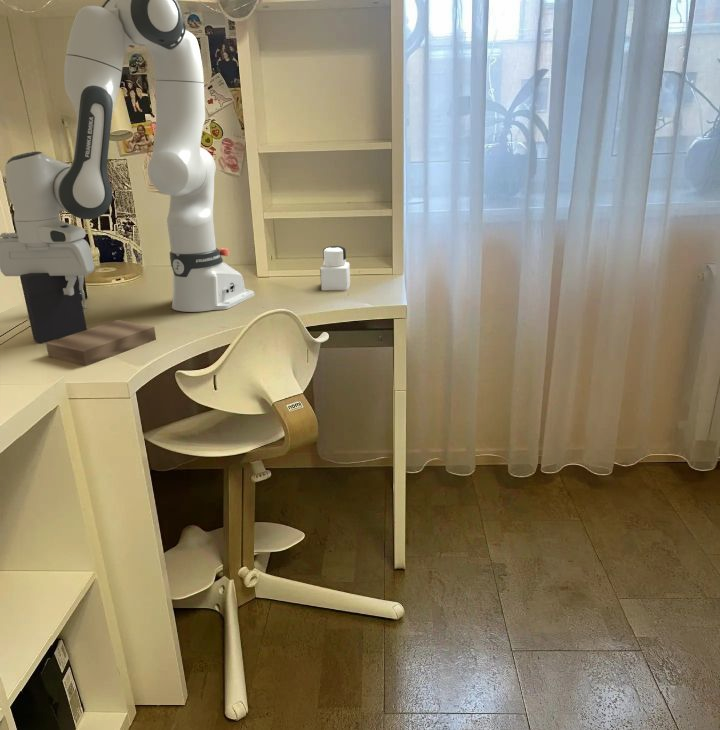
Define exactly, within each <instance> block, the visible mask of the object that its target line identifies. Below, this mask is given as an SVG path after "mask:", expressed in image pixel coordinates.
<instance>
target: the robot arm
mask: <svg viewBox="0 0 720 730" xmlns="http://www.w3.org/2000/svg"><path fill="white" fill-rule="evenodd" d="M129 47H131V48H132V47H146V49H147V50H148V52H149V54H150V56H151V59H152V64H153V82H154V97H155V98H154V99H155V117H156V118H155V128H154V129H155V130H154V136H153V147H152V154H151V158H150V161H149V162H148V167H147V174H148V178H149V180H150V184H151V185H152V186H153V187H154V188H155V189H156V190H157V191H159V192H161V193H162V194H165V195H168V196H170V197H169V208H168V209H169V210H168V215H167V218H166V219H167V220H166V223H167V224H166V225H167V230H168V238H169V245H170V252H169V260H170V266H171V269H172V287H173V288H172V289H173V290H172V302H171V303H172V304H171V308H172V309H173V310H174V311H177V312H186V313H187V312H189V313H197V312H208V311H214V310H215V311H220V310H228V309H231V308H233V307H234V306H237V305H239V304H240V303H243V302H245V301H246V300H249V299H250V298H252V297H254V296H256V294H255V291H254V290H252V289H248V288H246V287H245V281H244V278H243V275H242V274H241V273H240V271H237V270H236V269H234V268H233V267H231V266H230V265H228V264H227V263H226V262H224V259H223V257H229V254H230V251H229V249H228V248H227V247H226V248H223V247H220V248H219V249H218V247H217V242H216V234H215V233H216V232H215V224H214V223H215V222H214V199H215V176H216V171H217V165H216V161H215V159H214V157H213V155H212V153H210V152H209V151H208V150H207V149H205V148H204V147H201V143H202V135H203V129H204V125H205V123H206V122H205V121H206V103H205V102H206V100H205V97H206V96H205V78H204V77H205V75H204V68H203V61H202V54H201V49H200V46H199V42H198V39H197V37H196V36H195V35H194V33H192V32H191V31H189V30H187V27H186V22H185V20H184V18H183V12H182V9H181V6H180V4H179V2H178V0H106V1H105V2H104V3H103V4H102V5H101V6H99V5H86V6H83V7H82V8H80V9H79V10H78V11H77V12H76V15H75V18H74V21H73V23H72V26H71V28H70V33H69V36H68V41H67V45H66V52H65V58H64V67H63V74H64V76H63V78H64V90H65V93H66V96H68V99H69V100H70V102H71V103H72V106H73V108H74V112H75V116H76V132H75V139H74V140H75V141H74V149H73V160H72V163H71V164H68V163H65V162H62V161H60V160H57V159H56V158H53V157H50V156H48V155H47V154H45V153H44V152H42V151H31V152H25V153H20V154H18V155H15V156H12V157H10V158H9V159H8V160H7V162H6V163H5V169H4V170H5V182H6V187H7V193H8V198H9V201H10V204H12V206H13V211H14V212H13V222H14V225H15V226H14V227H15V230H16V232H2V233H1V234H0V272H1V274H3V276H4V277H20V275H23V274H28V273H49V275H50V276H65V279H66V281H68V284H67V287H65V288H63V291H64V295H65V296H72V295H74V288H73V286H74V284H75V282H76V279H77V277H76V276H84V277H85V276H87V275H90V274H92V273H93V271H95V268H94V267H95V262H94V256H93V254H92V249H91V246H90V245H89V243H88V241H87V240H86V239H84V238H85V237H86V230H85V229H84V228H83V227H82V226H77V225H74V224H71V223H68V222H65V221H63V220H61V217H60V212H63V211H64V212H65V211H66V212H68V213H69V214H70V215H72V216H74V217H76V218H77V219H81V220H94V219H97V218H100V217H101V216H103V215H104V214H106V213H107V211H108V210H109V209H110V207H111V205H112V201H113V189H112V186H111V183H110V178H109V176H108V175H109V173H108V159H109V158H108V157H109V147H110V140H111V130H112V129H111V128H112V127H111V126H112V118H113V114H114V110H115V106H116V102H117V98H118V94H119V91H120V90H119V89H120V87H121V86H120V85H121V80H122V74H123V69H124V68H123V67H124V57H125V54H126V52H127V50H128V48H129Z"/></svg>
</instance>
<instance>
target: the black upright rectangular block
mask: <svg viewBox="0 0 720 730" xmlns="http://www.w3.org/2000/svg"><path fill="white" fill-rule="evenodd" d="M76 277H77V279H76V282H75V284H74V286H73V288H74V295H72V296H65V295H64V291H63V288H65V287H67V284H68V281H66V279H65V276H50V275H49V273H28V274H23V275H20V276H19V279H20V283H21V288H22V293H23V298H24V301H25V306H26V311H27V315H28V319H29V324H30V328H31V332H32V337H33V341H34V342H36V343H39V344H44V343H45V344H46V343H47V342H50V341H54V340H57V339H60V338H63V337H66V336H69V335H72V334H75V333H78V332H81V331H85V330H88V328H87V323H86V318H85V312H84V308H83V301H82V295H81V293H80V290H79V279H78V276H76Z"/></svg>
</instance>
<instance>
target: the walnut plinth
mask: <svg viewBox="0 0 720 730" xmlns="http://www.w3.org/2000/svg"><path fill="white" fill-rule="evenodd" d="M156 336H157V335H156V329H155V326H153V325H147V324H141V323H135V322H131V321H125V320H119V319H116V320H114V321H113V320H112V321H110V322H107V323H104V324H100V325H97V326H95V327H91V328H87V330H85V331H81V332H78V333H75V334H72V335H69V336H66V337H63V338H60V339H56V340H52V341H49V342H45V347H46V349H47V350H46V351H47V354H48V357H49V358H53V359H56V360H61V361H64V362H69V363H74V364H77V365H80V366H85V367H87V366H89V365H92V364H95V363H98V362H100V361H104V360H106V359H109V358H111V357H114V356H116V355H119V354H121V353H125V352H127V351H130V350H132V349H136V348H138V347H140V346H144V345H145V344H148V343H150V342H153V341H157V337H156Z"/></svg>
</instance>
